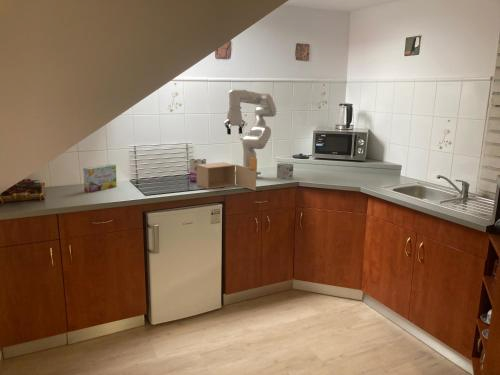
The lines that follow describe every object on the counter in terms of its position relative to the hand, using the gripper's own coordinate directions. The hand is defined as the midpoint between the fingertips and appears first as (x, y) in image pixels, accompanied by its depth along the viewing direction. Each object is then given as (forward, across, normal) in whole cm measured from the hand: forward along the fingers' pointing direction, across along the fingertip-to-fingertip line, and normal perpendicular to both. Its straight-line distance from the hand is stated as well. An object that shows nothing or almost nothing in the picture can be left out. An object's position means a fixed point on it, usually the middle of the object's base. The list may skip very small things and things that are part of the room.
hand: (234, 134), depth 289 cm
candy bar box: (+34, +19, -18) cm, 43 cm away
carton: (+34, +15, -1) cm, 37 cm away
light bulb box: (+35, -42, +7) cm, 55 cm away
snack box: (+34, +83, -32) cm, 95 cm away
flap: (+34, +4, +18) cm, 38 cm away
